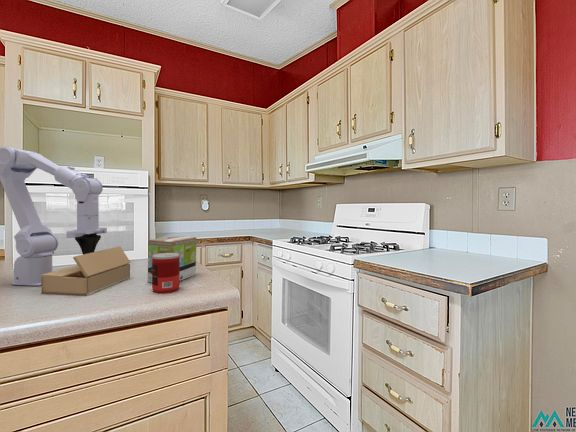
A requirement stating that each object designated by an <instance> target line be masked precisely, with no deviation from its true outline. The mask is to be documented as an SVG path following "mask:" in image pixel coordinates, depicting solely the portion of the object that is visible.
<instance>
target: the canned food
mask: <svg viewBox="0 0 576 432" xmlns="http://www.w3.org/2000/svg"><path fill="white" fill-rule="evenodd" d="M179 278H180V256H179V254H178V253H160V254H155V255H153V256H152V283H151V288H152V292H153V293H155V294H170V293H174V292H176V291H178V290H179V287H180V281H179Z"/></svg>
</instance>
